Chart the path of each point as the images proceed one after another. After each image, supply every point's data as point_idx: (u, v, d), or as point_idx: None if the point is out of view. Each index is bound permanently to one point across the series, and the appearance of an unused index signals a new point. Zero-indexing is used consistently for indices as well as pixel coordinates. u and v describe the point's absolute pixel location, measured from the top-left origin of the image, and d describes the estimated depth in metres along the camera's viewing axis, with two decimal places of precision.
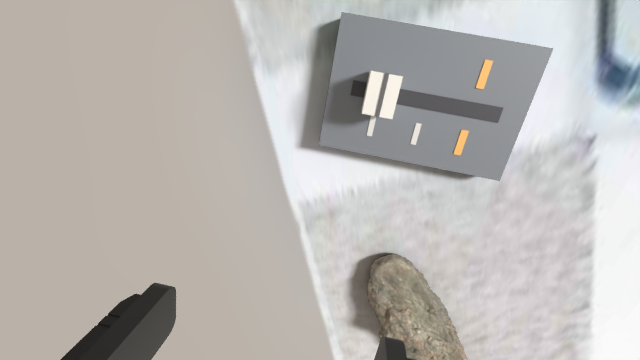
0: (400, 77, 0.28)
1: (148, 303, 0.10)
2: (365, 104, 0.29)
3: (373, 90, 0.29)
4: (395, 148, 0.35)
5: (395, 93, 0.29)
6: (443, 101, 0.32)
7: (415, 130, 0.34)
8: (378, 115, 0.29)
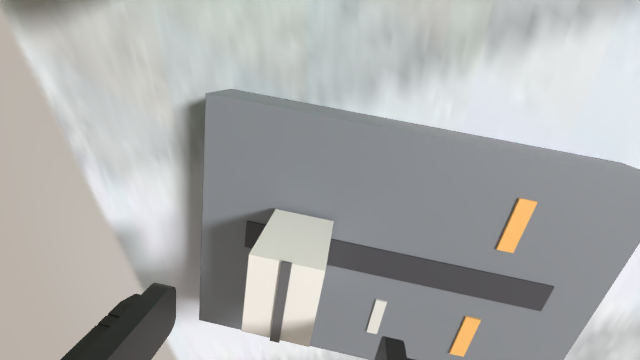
0: (319, 272, 0.12)
1: (148, 303, 0.10)
2: (246, 315, 0.13)
3: (261, 292, 0.12)
4: (339, 335, 0.18)
5: (311, 301, 0.12)
6: (429, 267, 0.16)
7: (374, 310, 0.17)
8: (277, 338, 0.13)
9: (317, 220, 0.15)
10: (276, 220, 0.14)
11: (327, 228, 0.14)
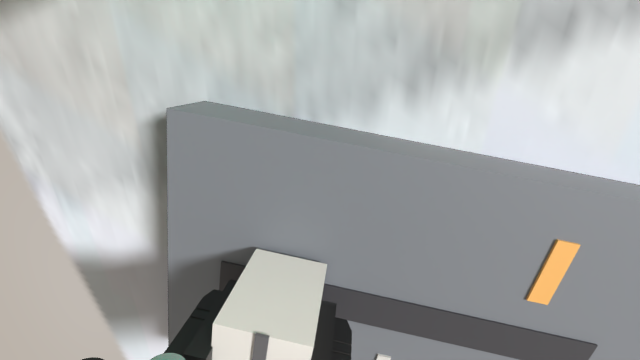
0: (305, 348, 0.09)
1: None
2: None
3: None
4: None
5: None
6: (442, 318, 0.13)
7: None
8: None
9: (307, 263, 0.12)
10: (254, 267, 0.11)
11: (319, 275, 0.12)
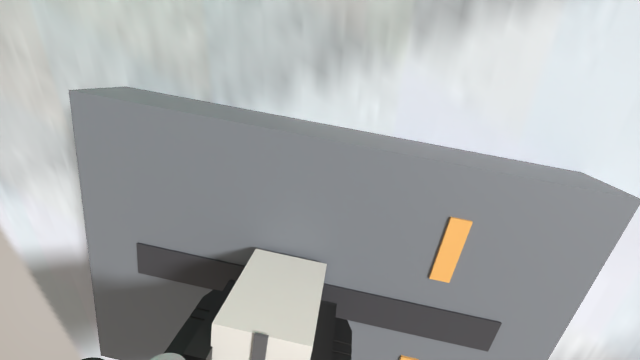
0: (304, 348, 0.09)
1: None
2: None
3: None
4: None
5: None
6: (353, 298, 0.13)
7: None
8: None
9: (307, 263, 0.12)
10: (254, 266, 0.11)
11: (318, 275, 0.12)
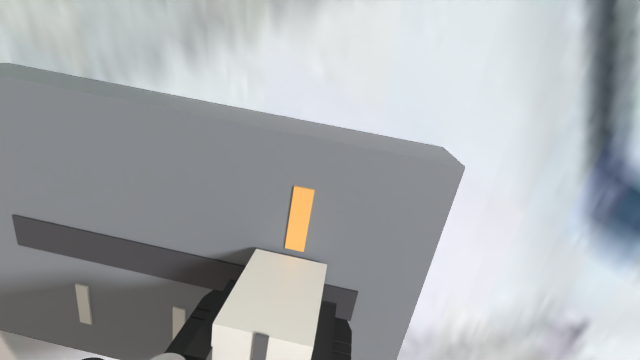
0: (305, 348, 0.09)
1: None
2: None
3: None
4: (147, 347, 0.16)
5: None
6: (220, 268, 0.14)
7: (176, 319, 0.15)
8: None
9: (307, 263, 0.12)
10: (254, 267, 0.11)
11: (318, 275, 0.12)
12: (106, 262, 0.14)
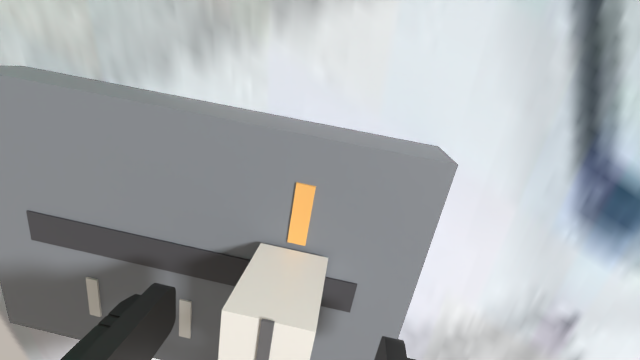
0: (308, 333, 0.09)
1: (148, 303, 0.10)
2: None
3: (237, 354, 0.10)
4: None
5: None
6: (225, 262, 0.14)
7: (182, 311, 0.15)
8: None
9: (309, 257, 0.13)
10: (259, 259, 0.12)
11: (320, 268, 0.12)
12: (116, 257, 0.15)
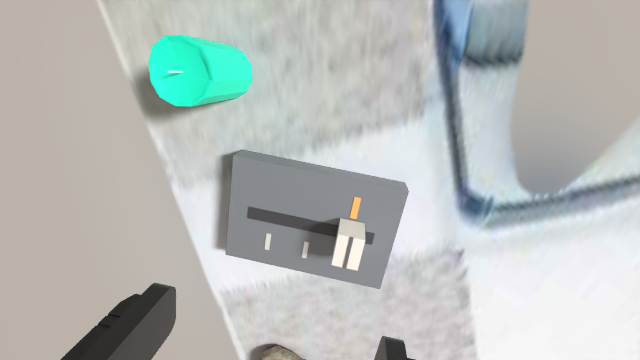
0: (363, 240, 0.33)
1: (148, 303, 0.10)
2: (334, 258, 0.34)
3: (341, 249, 0.34)
4: (290, 259, 0.40)
5: (359, 252, 0.33)
6: (324, 226, 0.38)
7: (304, 247, 0.39)
8: (345, 267, 0.34)
9: (358, 223, 0.36)
10: (342, 223, 0.36)
11: (362, 226, 0.36)
12: (281, 224, 0.38)
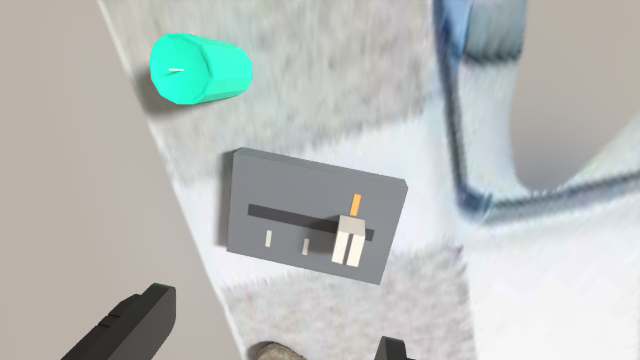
0: (363, 237, 0.33)
1: (148, 303, 0.10)
2: (334, 255, 0.34)
3: (341, 245, 0.34)
4: (290, 256, 0.40)
5: (359, 248, 0.34)
6: (325, 223, 0.38)
7: (304, 243, 0.39)
8: (345, 263, 0.34)
9: (358, 219, 0.37)
10: (342, 219, 0.36)
11: (362, 222, 0.36)
12: (281, 221, 0.39)
